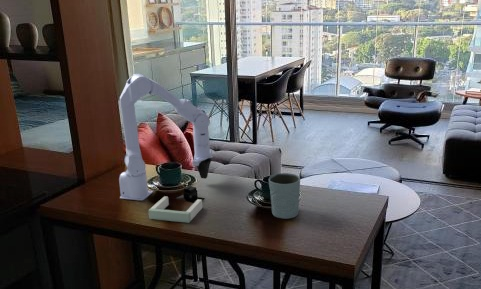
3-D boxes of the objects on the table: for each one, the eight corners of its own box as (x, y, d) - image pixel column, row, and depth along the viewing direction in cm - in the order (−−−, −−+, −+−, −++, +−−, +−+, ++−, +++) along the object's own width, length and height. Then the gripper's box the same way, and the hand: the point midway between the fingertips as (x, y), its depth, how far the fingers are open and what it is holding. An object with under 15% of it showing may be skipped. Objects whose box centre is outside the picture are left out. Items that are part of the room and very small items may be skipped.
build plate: (171, 199, 167) (170, 187, 166) (185, 193, 173) (184, 181, 172) (197, 206, 160) (196, 194, 159) (211, 199, 166) (210, 187, 165)
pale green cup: (281, 222, 145) (281, 186, 142) (263, 211, 153) (262, 177, 150) (307, 213, 150) (306, 179, 147) (287, 203, 158) (287, 170, 155)
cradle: (149, 218, 152) (148, 210, 151) (164, 204, 162) (164, 196, 161) (189, 222, 148) (188, 214, 147) (202, 207, 158) (201, 199, 157)
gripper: (204, 150, 166) (207, 185, 170) (218, 138, 179) (220, 171, 183) (186, 149, 168) (189, 184, 172) (201, 137, 181) (203, 170, 185)
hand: (204, 177), depth 178 cm, fingers closed
